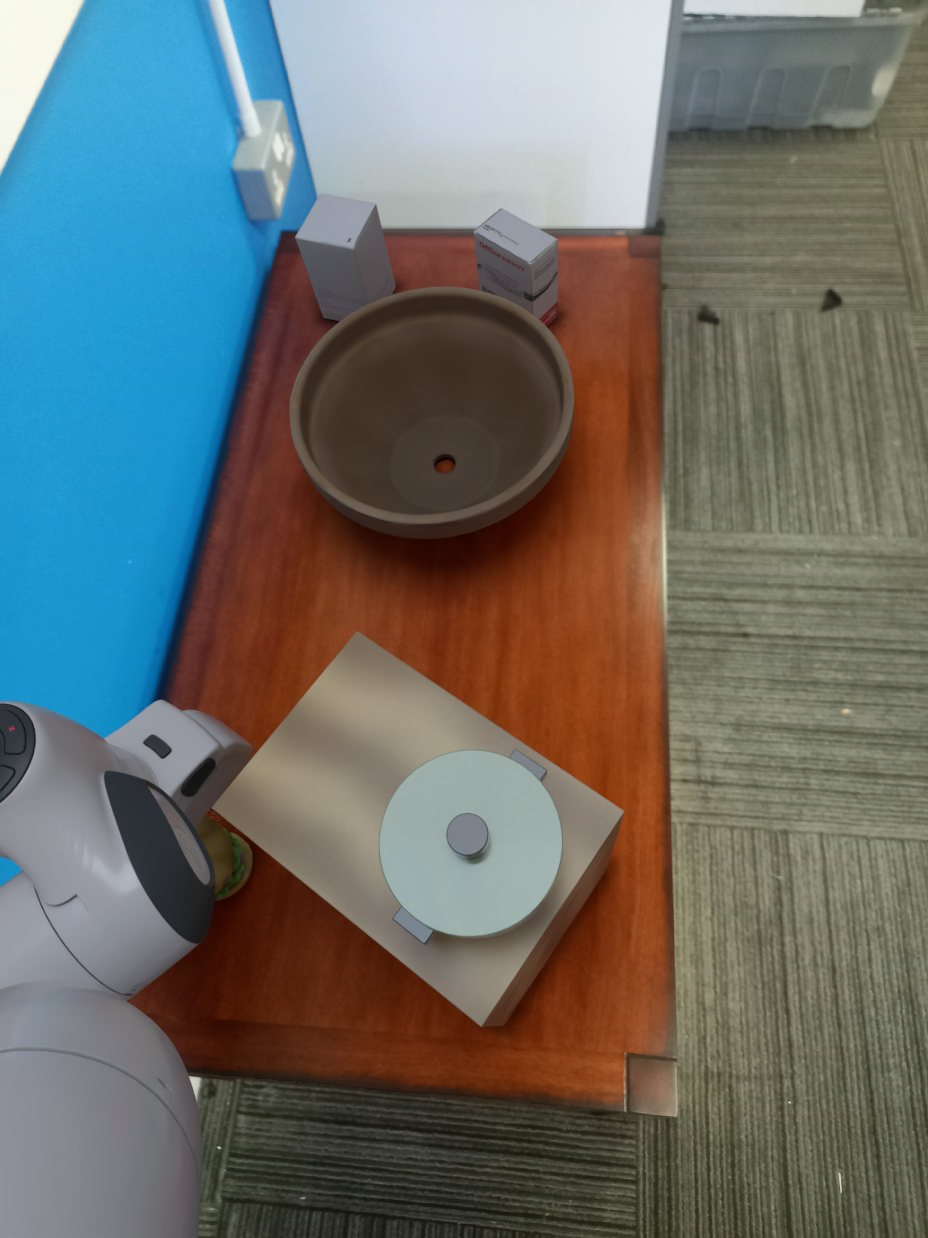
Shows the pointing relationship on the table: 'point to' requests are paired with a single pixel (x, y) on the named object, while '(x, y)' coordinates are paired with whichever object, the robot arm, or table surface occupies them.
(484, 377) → the flower pot
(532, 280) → the ink box
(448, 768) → the pot
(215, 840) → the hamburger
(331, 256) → the white packaging box
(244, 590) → the table surface
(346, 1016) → the table surface
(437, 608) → the table surface
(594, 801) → the stand
